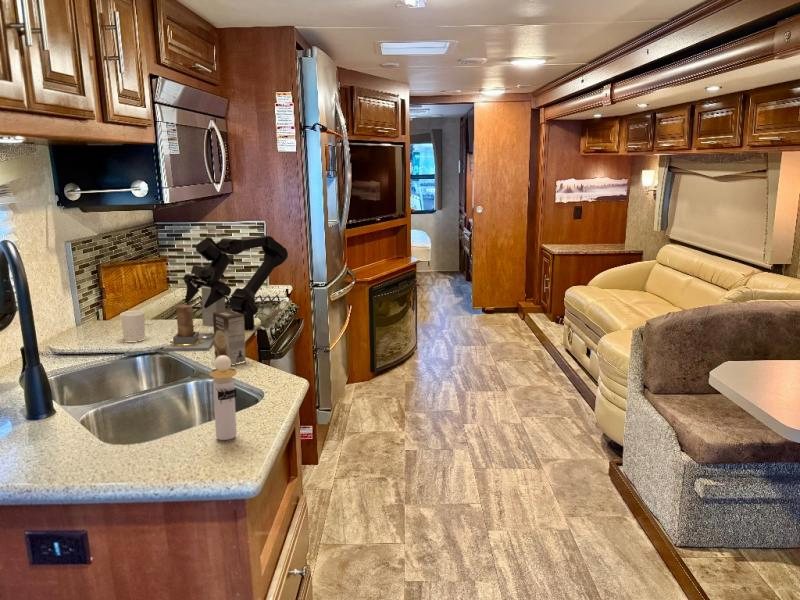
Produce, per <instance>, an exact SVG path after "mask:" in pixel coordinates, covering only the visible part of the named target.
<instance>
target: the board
mask: <svg viewBox="0 0 800 600" xmlns="http://www.w3.org/2000/svg"><path fill="white" fill-rule="evenodd" d="M199 335H200V333H199ZM200 341H204V343H199V344H198V346H195V347H194V346H189V347H185V348H181V347H178V346H175V347H172V346H171V344H170V345H167V346H165V345H164V346H163V347H162V352H186V351H187V352H191V351H192V352H195V351H196V352H197V351H201V352H203V351H205V352H206V351H207V352H209V351H210V350H211V348H212V346H213V345H214V338H210V340H207V339H202V340H200Z"/></svg>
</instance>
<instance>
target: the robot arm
mask: <svg viewBox="0 0 800 600" xmlns="http://www.w3.org/2000/svg"><path fill="white" fill-rule="evenodd" d="M257 248H261V251H262V252H263V253H264V255H263V261H262V263H261V264H260V266H259V267H258V269H257V270H256V271H255V272H254V273H253V275H252V277H251V278H250V279H249V280H248V282H247V283H246V284H245V286H244V287H243V288H240V287H237V288H235V289H234V292H233V293H232V288H231V287H230V286H229V285H228V284H227V283H226V282H225V281H221V279H224V278H225V275H224V273H225V271H226V269H227V268H228V266H229V265H230V266H231V265H232V266H234V265H235V264H236V263H235V260H234V257H232V256H237V255H239V254H241V253H243V252H244V251H245V250H250V249H257ZM195 252H197V254H199V255H200V256H201V257H202V258H204V259H205V260H206V261H207V262H210V263H209V265H204V267H203V266H199V265H196V264H193V265H192V267H191V271H190V273H185V274H184V276H183V278H182V281H184V284H186V291H185V292H186V294H185V298H184V299H185V300H184V303H185V304H188V303H189V302H190V301H191V300H192V299H193V298H194V297H195V296H196V295H197V294H198V292H199V291H200V288H201V287H203V286H204V287H208V288H211V293H210V295H209V297H208V299H207V301H206V302H205V305H204V308H207V307H209V306H210V305H212V304H213V303H215V302H216V301H218V300H220V299H222V298H223V297H224V298H225V299H226V297H230V299H229V307H230V308H231V310H233V311H235V312H238V313H241V314H244V327H245V331H254V330H255V328H256V325H255V315H257V314H258V311H259V308H258V306H257V305H256V304H255V302H256V294H257V292H258V291H259V290H260V289H261V288H262V287H263V285H264V283H265V281H266V280H267V279H268V278H269V276H270V275H271V274H272V272H273V271H274V269H275V268H277V267H279V266H281V265H282V264H283V263H284V262H285V261H286V260H287V259H288V257H289V255H288V254H289V253H288V250H287V248H286V247H284V246H283V245H282V244H281V243H279V242H278V241H277V240H275V239H274V238H273V237H272V236H271V235H264V234H263V235H262V234H261V235H259V236H253V237H252V236H251V237H247V238H246V237H245V238H239V239H238V238H227V237H222V238H221V239H220V240H219V241H218V242H216V241H214V239H213V238H212V237H210V236H206V237H205V239H203V240H201V241H200V242H199V243H197V244H196V246H195ZM229 255H232V256H229Z"/></svg>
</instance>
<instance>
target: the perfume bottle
mask: <svg viewBox="0 0 800 600" xmlns="http://www.w3.org/2000/svg"><path fill="white" fill-rule="evenodd" d="M213 364H214V368H215V369H212V370H210V372H209V376H210V377H211V378H213V381H212V382H213V383H212V386H213V387H212V388H213V403H214V404H213V405H214V421H215V422H214V424H215V425H214V426H215V438H216V439H218V440H221V441H222V440H223V441H224V440H225V441H226V440H231V439H234V438H235V437H236V436H237V419H236V417H237V416H236V397H237V388H235V379H234V378H233V377H235V376H236V375H237V371H238V370H237V369H235V368H233V367H232V366H231V360H230V358H229V357H228V356H225V355H221V356H218V357H217V358H216V360H215V359H214V363H213Z"/></svg>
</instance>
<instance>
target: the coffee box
mask: <svg viewBox="0 0 800 600" xmlns="http://www.w3.org/2000/svg"><path fill="white" fill-rule="evenodd" d="M212 327H213V333H214V343H213V345H214V361H215V360H216V358H217V357H218V356H221V355H225V356H228V357H229V358H230V360H231V365H232V364H236V363H239V362H243V361H246V333H245V331H246V330H245V327H244V314H241V313H238V312H235V311H233V310H232V309H225V311H219V312H214V313H213V326H212ZM246 362H247V361H246Z"/></svg>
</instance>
